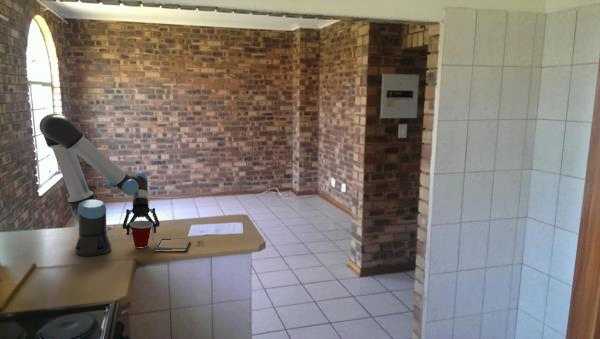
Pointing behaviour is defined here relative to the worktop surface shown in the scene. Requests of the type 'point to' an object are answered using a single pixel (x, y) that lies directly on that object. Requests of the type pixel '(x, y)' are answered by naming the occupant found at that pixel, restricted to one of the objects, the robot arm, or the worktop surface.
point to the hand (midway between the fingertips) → (141, 239)
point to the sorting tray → (170, 247)
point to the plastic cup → (141, 232)
